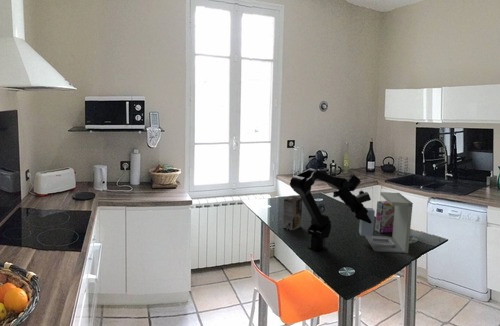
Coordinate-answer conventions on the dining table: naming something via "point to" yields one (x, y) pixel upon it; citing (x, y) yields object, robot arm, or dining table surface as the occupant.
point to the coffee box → (292, 213)
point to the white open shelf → (395, 226)
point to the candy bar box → (384, 217)
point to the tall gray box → (367, 224)
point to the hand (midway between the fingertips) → (369, 221)
